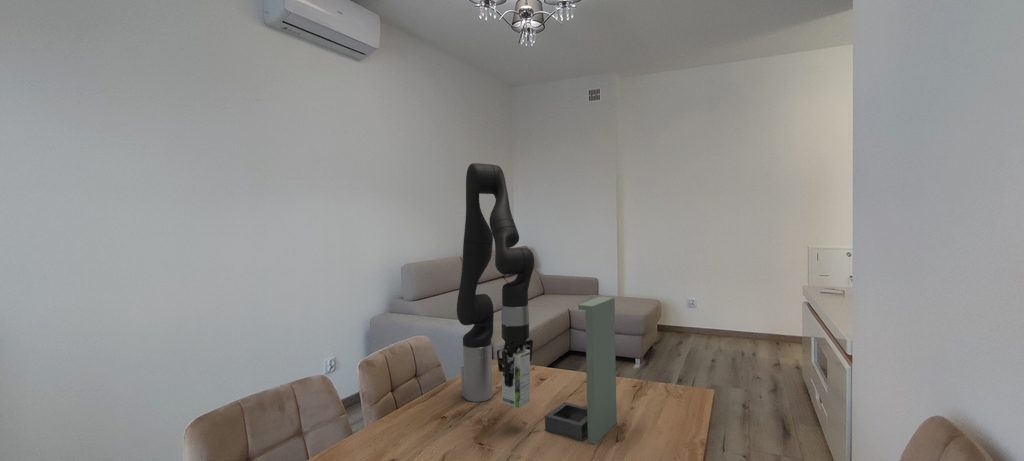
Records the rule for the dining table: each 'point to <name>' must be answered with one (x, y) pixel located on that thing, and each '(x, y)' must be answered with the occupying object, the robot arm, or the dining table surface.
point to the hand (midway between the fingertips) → (515, 382)
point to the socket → (568, 421)
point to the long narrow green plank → (600, 366)
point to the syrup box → (518, 381)
